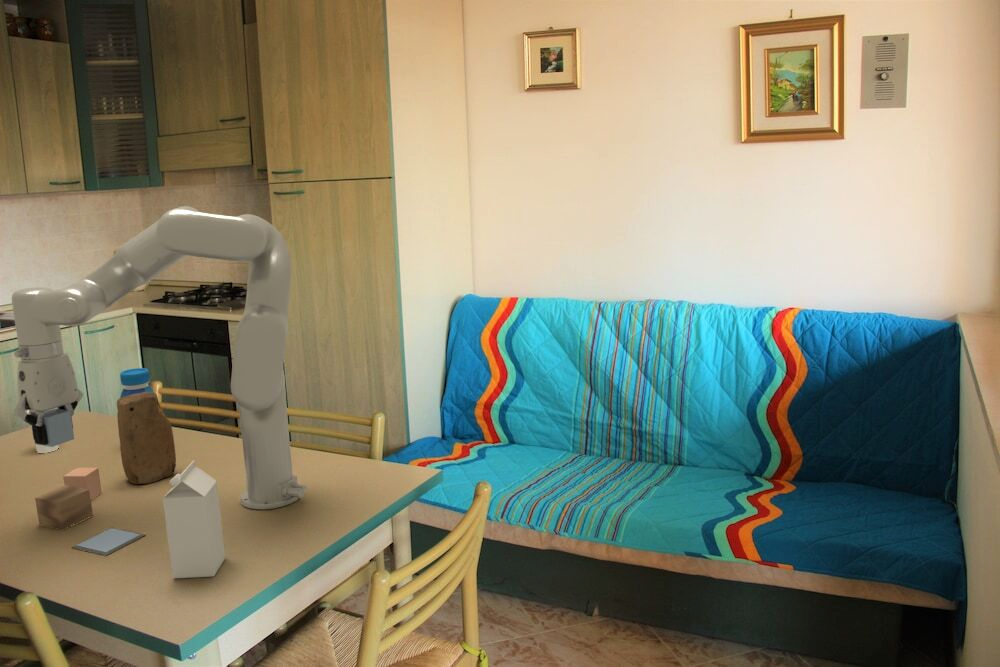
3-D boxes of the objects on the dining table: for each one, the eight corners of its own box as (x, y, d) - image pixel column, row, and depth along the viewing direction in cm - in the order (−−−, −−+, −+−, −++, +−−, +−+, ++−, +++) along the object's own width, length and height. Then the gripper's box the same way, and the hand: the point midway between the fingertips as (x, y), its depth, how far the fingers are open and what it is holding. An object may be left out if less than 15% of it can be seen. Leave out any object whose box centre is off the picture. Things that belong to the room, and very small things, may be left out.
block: (132, 488, 187) (120, 402, 183) (122, 479, 193) (111, 396, 189) (180, 475, 194) (170, 392, 190) (170, 467, 199) (160, 386, 195)
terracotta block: (101, 493, 185) (98, 467, 184) (89, 502, 180) (85, 476, 179) (80, 493, 186) (76, 467, 184) (67, 502, 181) (63, 476, 180)
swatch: (145, 535, 163) (145, 533, 163) (106, 556, 154) (105, 554, 154) (111, 528, 166) (111, 526, 166) (71, 548, 158) (71, 546, 158)
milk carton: (225, 558, 152) (214, 459, 148) (214, 577, 145) (201, 474, 141) (186, 560, 152) (173, 461, 148) (172, 579, 145) (159, 476, 141)
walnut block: (93, 516, 173) (89, 489, 172) (63, 530, 167) (59, 502, 165) (69, 512, 176) (65, 485, 174) (39, 525, 170) (35, 497, 168)
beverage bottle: (168, 443, 217) (159, 368, 213) (139, 453, 210) (129, 376, 206) (148, 438, 221) (138, 365, 217) (119, 448, 214) (108, 373, 210)
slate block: (74, 439, 169) (70, 410, 168) (52, 446, 164) (47, 417, 163) (57, 436, 171) (53, 408, 170) (35, 444, 167) (30, 415, 165)
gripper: (13, 362, 155) (28, 455, 159) (92, 343, 170) (103, 428, 174) (-13, 359, 158) (2, 450, 162) (66, 340, 173) (78, 424, 177)
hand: (54, 438), depth 168 cm, fingers closed on slate block, 5 cm apart
